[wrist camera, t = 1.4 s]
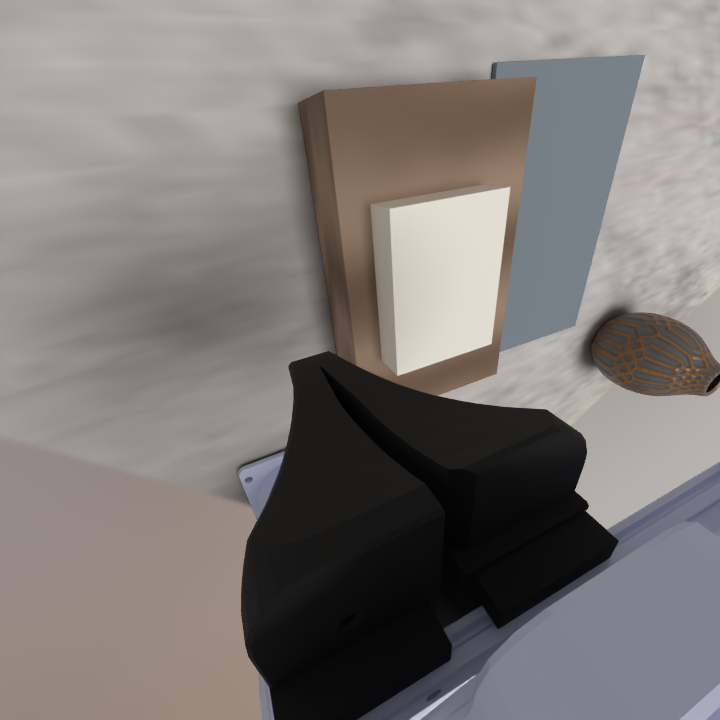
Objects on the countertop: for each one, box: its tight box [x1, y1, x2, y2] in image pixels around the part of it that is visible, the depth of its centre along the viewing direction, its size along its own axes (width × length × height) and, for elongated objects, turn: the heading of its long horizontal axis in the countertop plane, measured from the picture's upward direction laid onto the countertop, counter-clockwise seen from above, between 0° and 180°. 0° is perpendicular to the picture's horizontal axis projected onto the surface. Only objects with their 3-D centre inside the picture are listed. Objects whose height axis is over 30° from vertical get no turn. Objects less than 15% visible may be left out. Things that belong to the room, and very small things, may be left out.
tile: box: [370, 185, 510, 376], centre depth 17 cm, size 8×6×2 cm
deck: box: [299, 76, 537, 396], centre depth 20 cm, size 16×10×4 cm, turn 7°
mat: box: [492, 55, 645, 352], centre depth 24 cm, size 18×11×1 cm, turn 7°
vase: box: [591, 313, 720, 396], centre depth 30 cm, size 7×7×9 cm
